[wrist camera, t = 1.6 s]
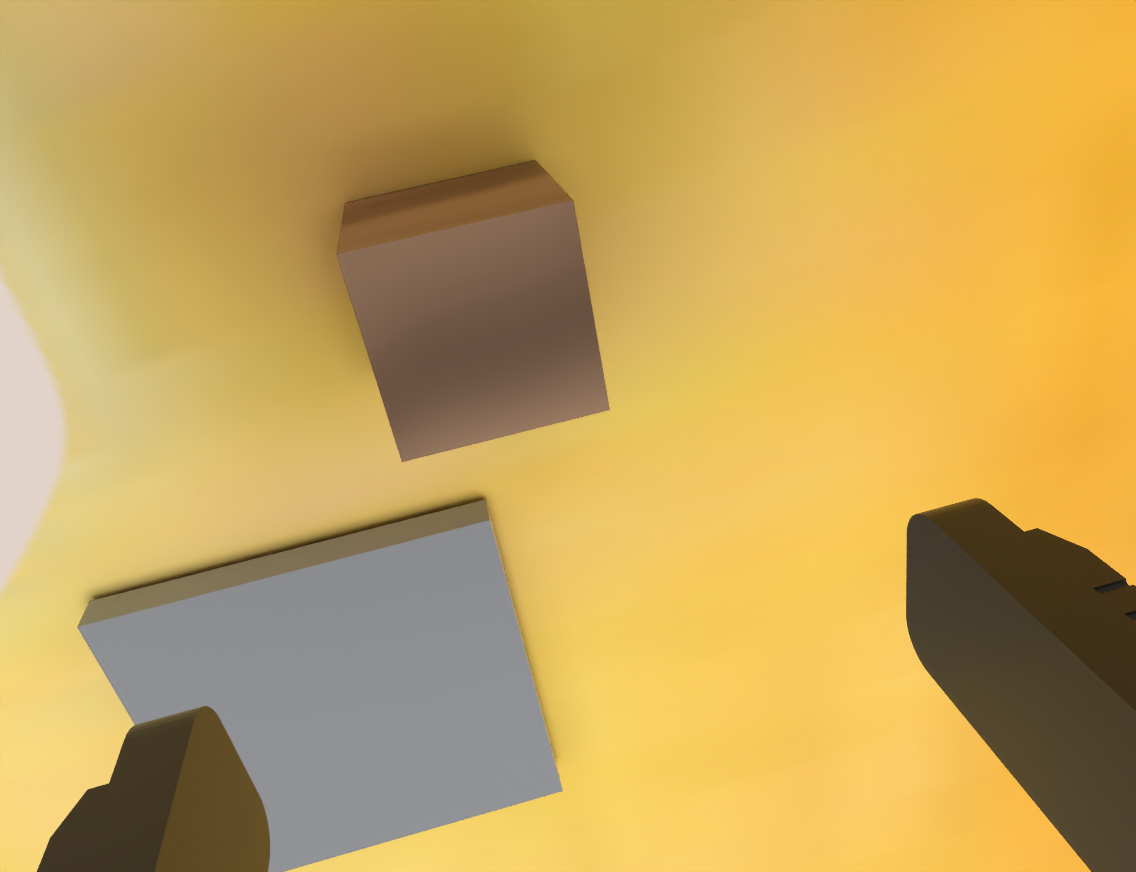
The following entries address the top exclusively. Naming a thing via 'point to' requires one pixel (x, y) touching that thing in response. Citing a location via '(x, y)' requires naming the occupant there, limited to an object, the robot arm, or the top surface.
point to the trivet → (347, 679)
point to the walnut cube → (473, 307)
